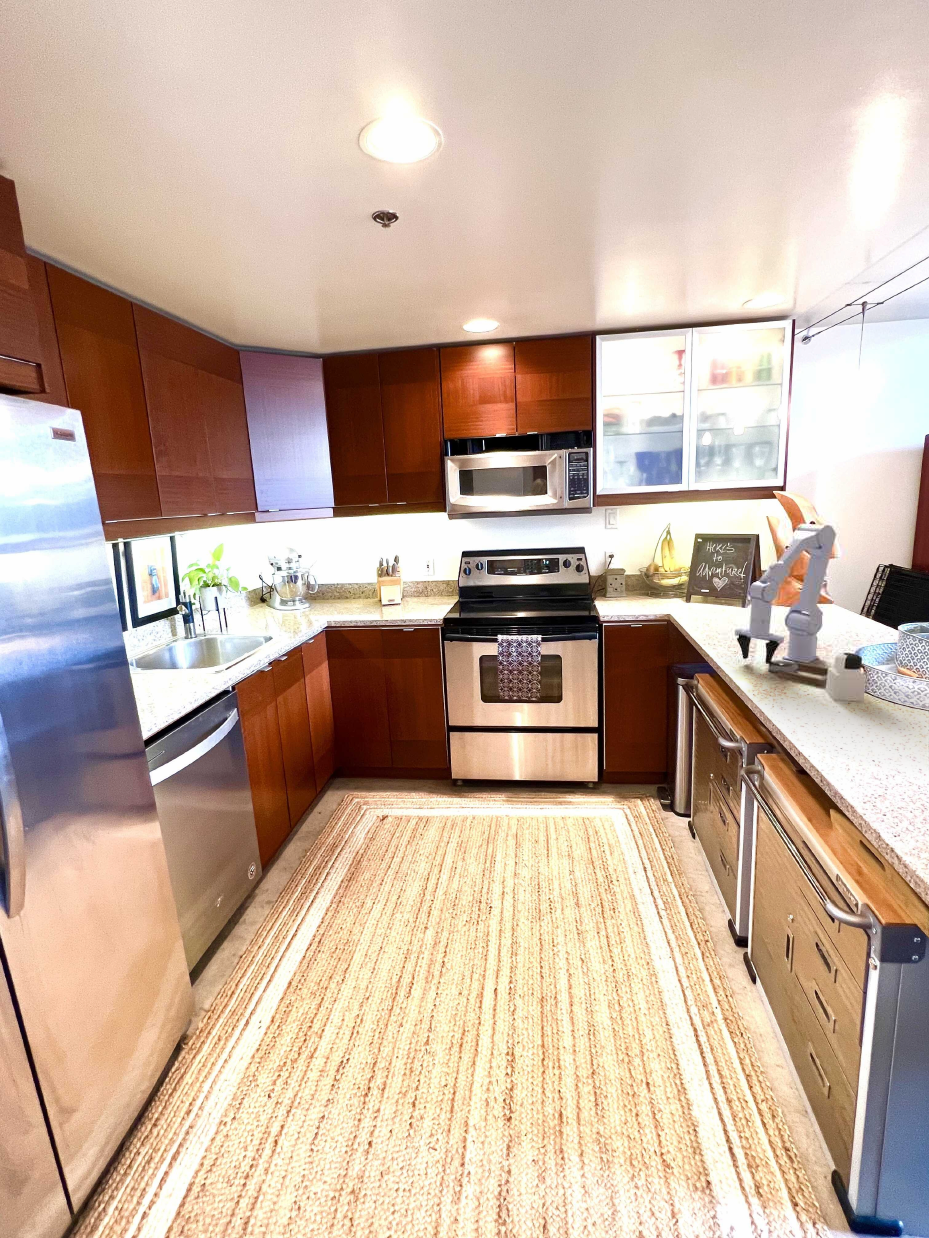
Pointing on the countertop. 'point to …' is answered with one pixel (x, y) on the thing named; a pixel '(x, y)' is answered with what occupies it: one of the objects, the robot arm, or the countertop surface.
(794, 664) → the ring
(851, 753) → the countertop surface
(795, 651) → the robot arm
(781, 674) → the cradle
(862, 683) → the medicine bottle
